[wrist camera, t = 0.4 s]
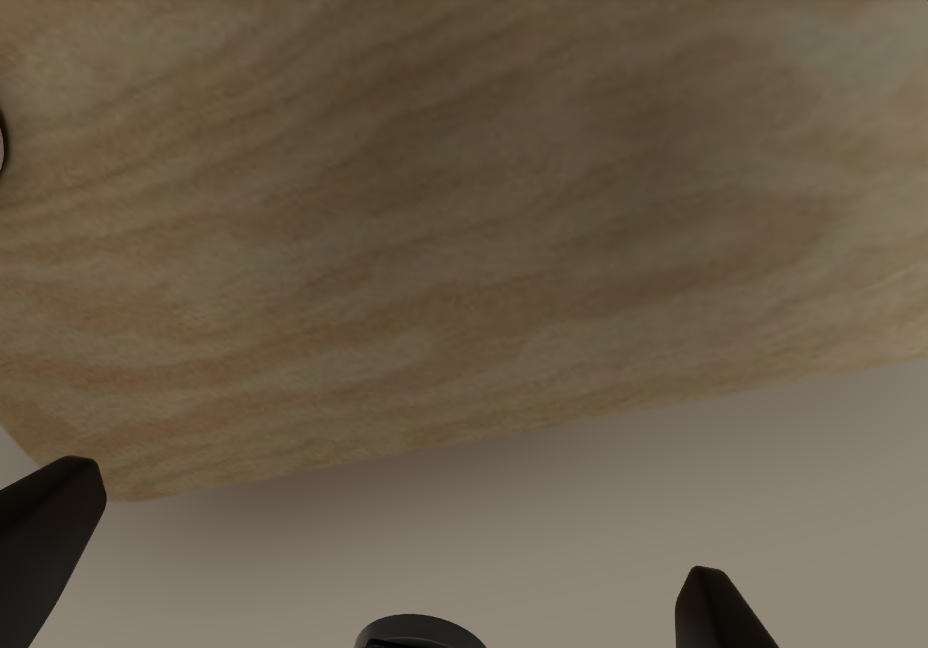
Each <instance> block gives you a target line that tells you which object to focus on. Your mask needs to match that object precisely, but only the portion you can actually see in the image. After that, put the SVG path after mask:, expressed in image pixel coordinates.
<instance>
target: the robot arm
mask: <svg viewBox="0 0 928 648" xmlns="http://www.w3.org/2000/svg"><path fill="white" fill-rule="evenodd" d="M106 501H107V496H106V491H105V488H104V484H103V481H102V477H101V473H100V470H99V466H98V464H97V463H96V462H95V461H94V460H93V459H90V458H84V457H78V456H65V457H62V458H60V459H58V460H56V461H54V462H52V463H50V464H49V465H47V466H45V467H43V468H41V469H40V470H37V471H35V472H34V473H32V474H30V475H28V476H26V477H24V478H22V479H20V480H19V481H17V482H15V483H13V484H11V485H9V486H7V487H5V488H4V489H2V490H0V648H28V647H29V646H30V644H31V643H32V641H33V639H34V638H35V636H36V635H37V633H38V632H39V630H40V629H41V627H42V626H43V624H44V623H45V621H46V619H47V618H48V616H49V614H50V613H51V611H52V610H53V608H54V606H55V605H56V603H57V601H58V599H59V597H60V596H61V594H62V592H63V590H64V588H65V586H66V584H67V582H68V580H69V578H70V577H71V575H72V573H73V571H74V569H75V567H76V565H77V563H78V561H79V559H80V557H81V555H82V553H83V551H84V549H85V547H86V545H87V543H88V541H89V539H90V537H91V535H92V534H93V532H94V529H95V528H96V526H97V524H98V522H99V520H100V518H101V516H102V514H103V512H104V509H105V506H106ZM675 629H676V648H779V647H778V645H777V644H776V643H775V641H774V640H773V638H772V637H771V636H770V634H769V633H768V631H767V630H766V629H765V627H764V626H763V625H762V623H761V622H760V620H759V619H758V618H757V616H756V615H755V614H754V612H753V611H752V609H751V608H750V607H749V605H748V604H747V602H746V601H745V600H744V599H743V597H742V595H741V594H740V593H739V591H738V590H737V588H736V587H735V586H734V584H733V583H732V582H731V580H730V579H729V577H728V576H727V575H726V574H725V573H724V572H723V571H721V570H719V569H714V568H708V567H703V566H695V567H693V568H692V569H691V571H690V572H689V575H688V577H687V579H686V581H685V583H684V585H683V587H682V589H681V591H680V594H679V596H678V598H677V601H676V607H675ZM364 648H418V647H413V646H408V645H404V644H399V643H394V642H389V641H384V640H380V639H374V638H371V639H368V640H366V642H365V646H364Z"/></svg>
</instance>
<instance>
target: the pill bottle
mask: <svg viewBox="0 0 928 648" xmlns="http://www.w3.org/2000/svg"><path fill="white" fill-rule="evenodd" d="M3 158H4V146H3V137H2V133H1V129H0V170H1V167H2V164H3Z"/></svg>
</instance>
